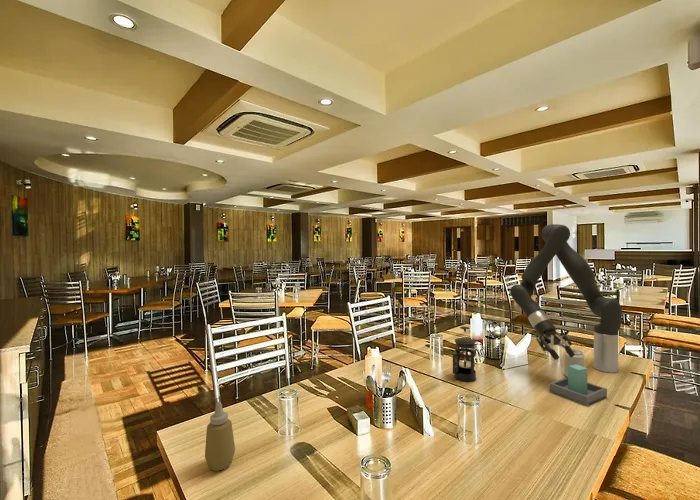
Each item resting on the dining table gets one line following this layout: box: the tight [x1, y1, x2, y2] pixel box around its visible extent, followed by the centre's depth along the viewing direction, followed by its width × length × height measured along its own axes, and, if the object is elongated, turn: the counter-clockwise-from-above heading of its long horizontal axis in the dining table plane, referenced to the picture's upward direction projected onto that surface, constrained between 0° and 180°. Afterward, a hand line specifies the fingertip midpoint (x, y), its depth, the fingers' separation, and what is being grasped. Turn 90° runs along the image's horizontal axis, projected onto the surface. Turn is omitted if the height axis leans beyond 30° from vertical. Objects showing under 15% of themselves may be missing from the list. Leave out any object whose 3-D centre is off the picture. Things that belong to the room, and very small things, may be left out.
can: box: [563, 348, 586, 378], centre depth 153 cm, size 8×8×12 cm
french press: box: [452, 325, 477, 383], centre depth 154 cm, size 12×9×23 cm
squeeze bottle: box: [204, 401, 236, 472], centre depth 97 cm, size 8×8×18 cm
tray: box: [549, 377, 608, 407], centre depth 137 cm, size 14×14×4 cm
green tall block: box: [568, 365, 588, 394], centre depth 137 cm, size 4×4×10 cm
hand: (565, 357), depth 142 cm, fingers open, 8 cm apart
